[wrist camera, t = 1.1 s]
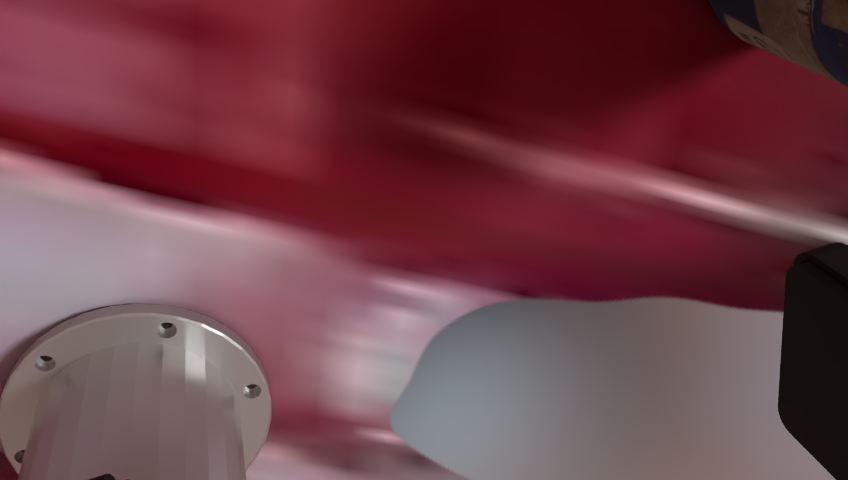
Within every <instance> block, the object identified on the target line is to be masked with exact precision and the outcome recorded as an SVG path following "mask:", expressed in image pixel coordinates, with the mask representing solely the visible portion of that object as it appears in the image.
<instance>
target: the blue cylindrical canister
mask: <svg viewBox="0 0 848 480" xmlns="http://www.w3.org/2000/svg"><path fill="white" fill-rule="evenodd" d="M709 3H710V5H711V7H712V9H713V11H714V12H715V14H716V16H717V17H718V19H719V20H720V21H721V22H722V24H723V25H724V26H725V27H726V28H727V29H728V30H729V31H730V32H732V33H733V34H734V35H735V36H737V37H738V38H740V39H742V40H743V41H745V42H747V43H749V44H751V45H754V46H756V47H758V48H761V49H763V50H766V51H768V52H770V53H772V54H775V55H777V56H780V57H782V58H784V59H786V60H788V61H791V62H793V63H795V64H797V65H799V66H802V67H805V68H807V69H809V70H812V71H814V72H816V73H818V74H821V75H823V76H825V77H828V78H830V79H832V80H834V81H836V82H838V83H840V84H843V85H845V86H848V0H709Z"/></svg>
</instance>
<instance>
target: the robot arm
mask: <svg viewBox="0 0 848 480" xmlns="http://www.w3.org/2000/svg"><path fill="white" fill-rule="evenodd" d="M168 322H169V323H168ZM166 323H167V324H166ZM779 381H780V382H779V397H778V411H779V415H780V418H781V420H782V422H783V424H784V426H785V427H786V429H787V430H788V431H789V432H790V433H791V434H792V436H793V437H794V438H795V439H796V440H797V441H799V443H800V444H801V445H802V446H803V447H804V448H805V449H806V450H807V451H808V452H809V453H810V454H811V455H812V456H813V457H814V458H815V459H816V460H817V461H818V462H819V463H820V464H821V465H822V466H823V467H824V468H825V469H826V470H827V471H828V472H829V473H830V474H831V475H832V476H833V477H834V478H835V479H836V480H848V245H845V244H843V243H836V242H835V243H832V244H828V245H825V246H822V247H819V248H816V249H813V250H810V251H806V252H803V253H801V254H799V255H797V257H796V258H795V260H794V264H793V267H791V268H789V269H788V271H787V274H786V283H785V299H784V316H783V331H782V349H781V364H780V380H779ZM270 421H271V396H270V390H269V384H268V380H267V377H266V375H265V372H264V370H263V367H262V365H261V362H260V361H259V359H258V358H257V357H256V355H255V354H254V352H253V351H252V349H251V348H250V347H249V345H247V344H246V343H245V342H244V341H243V340H242V339H241V338H240V337H239V336H238V335H237V334H236V333H234V332H233V331H232V330H230V329H229V328H227V327H225V326H224V325H222V324H220V323H219V322H217V321H216V320H214V319H212V318H209V317H206V316H204V315H201V314H199V313H196V312H194V311H191V310H187V309H182V308H178V307H173V306H168V305H159V304H139V303H137V304H127V305H117V306H109V307H105V308H101V309H98V310H94V311H90V312H86V313H83V314H81V315H78V316H76V317H74V318H72V319H69V320H67V321H65V322H63V323H61V324H58V325H57V326H56V327H54V328H53V329H51V330H50V331H48V332H47V333H45V334H44V335H42V336H41V337H39V338H38V339H37V340H36V341H35V342H34V343H33V344H32V345H31V346H30V347H29V348H28V349H27V350H26V351H25V352H24V353H23V354H22V355H21V356H20V358H19V359H18V361H17V362H16V364H15V365H14V367H13V369H12V370H11V372H10V373H9V375H8V378H7V381H6V384H5V386H4V389H3V392H2V395H1V399H0V442H1V445H2V448H3V451H4V454H5V456H6V458H7V459H8V461H9V462H10V464H11V465H12V467H13V468H14V470H15V471H16V473H17V474H18V475H19V477H18V480H246V470H247V468H248V467H249V466H250V465H251V463H252V462H253V461H254V459H255V458H256V457H257V455H258V454H259V452H260V450H261V448H262V446H263V444H264V442H265V440H266V437H267V434H268V430H269V426H270Z"/></svg>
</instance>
